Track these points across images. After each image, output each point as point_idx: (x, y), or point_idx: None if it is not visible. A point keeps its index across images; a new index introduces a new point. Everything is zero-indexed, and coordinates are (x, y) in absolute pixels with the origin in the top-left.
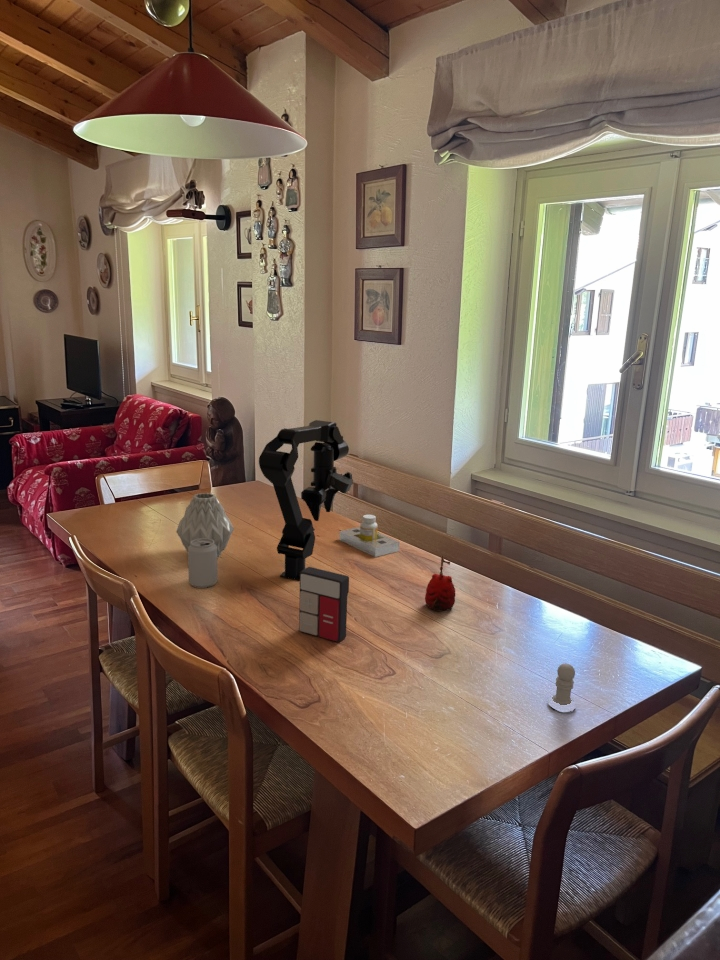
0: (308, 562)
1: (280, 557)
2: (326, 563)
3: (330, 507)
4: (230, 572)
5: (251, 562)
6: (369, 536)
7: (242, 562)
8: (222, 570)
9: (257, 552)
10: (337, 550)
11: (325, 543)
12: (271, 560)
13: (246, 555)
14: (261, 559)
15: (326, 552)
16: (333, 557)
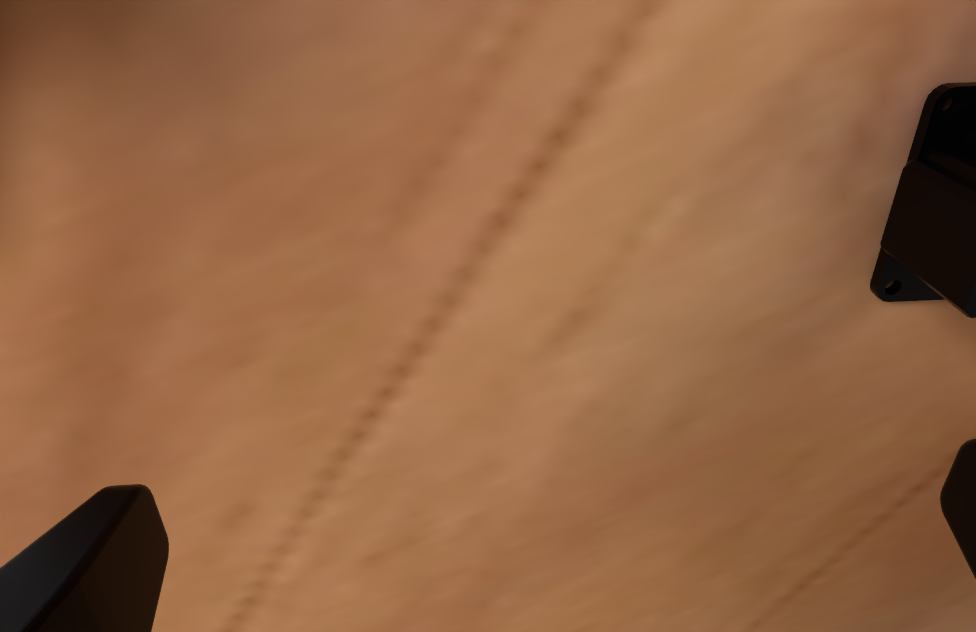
0: (651, 212)
1: (613, 450)
2: (620, 25)
3: (73, 583)
4: (970, 571)
5: (771, 553)
6: None
7: (784, 590)
8: (940, 613)
9: (574, 598)
10: (171, 70)
11: (67, 276)
12: (697, 474)
13: (653, 621)
14: (697, 530)
15: (304, 161)
16: (408, 23)
